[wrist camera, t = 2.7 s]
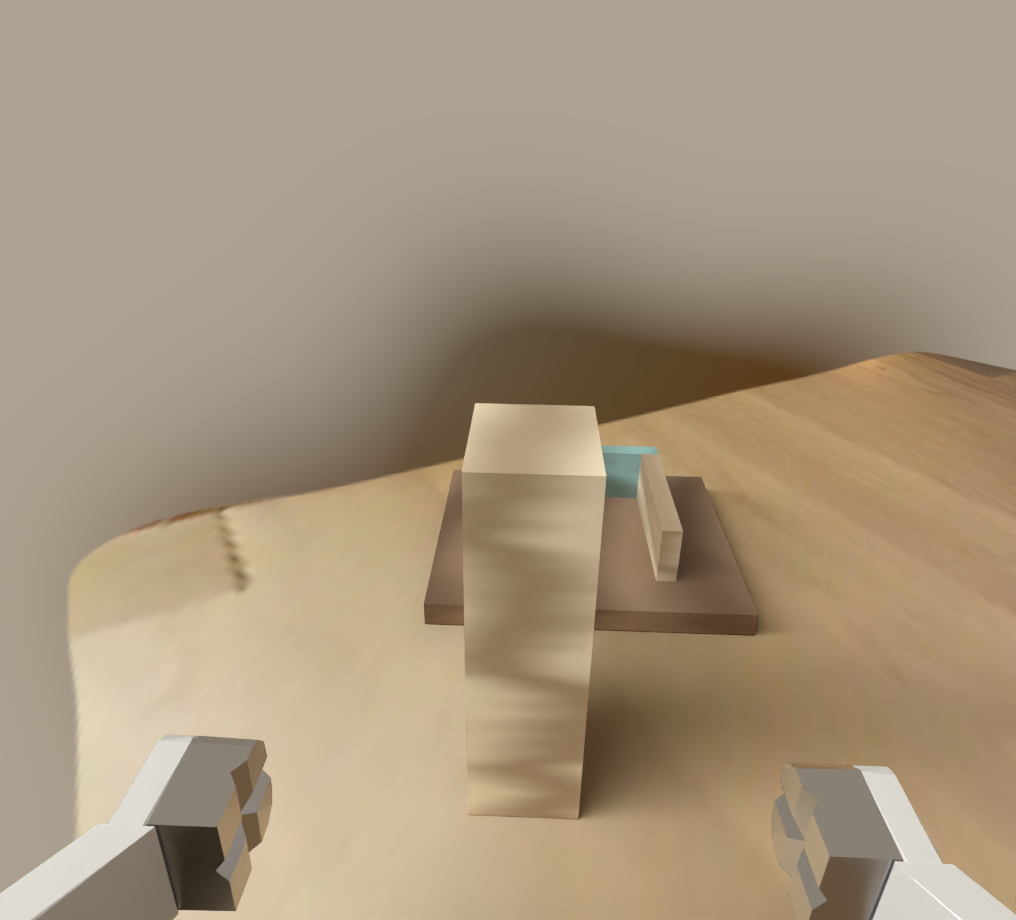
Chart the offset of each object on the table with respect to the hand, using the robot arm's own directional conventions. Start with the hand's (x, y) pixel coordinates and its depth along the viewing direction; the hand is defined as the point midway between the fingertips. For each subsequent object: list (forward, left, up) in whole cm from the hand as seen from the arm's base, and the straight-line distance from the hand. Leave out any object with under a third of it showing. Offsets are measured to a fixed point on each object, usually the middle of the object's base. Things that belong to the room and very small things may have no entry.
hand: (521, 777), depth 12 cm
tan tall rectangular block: (0, -12, -14) cm, 19 cm away
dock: (-3, -27, -14) cm, 31 cm away
